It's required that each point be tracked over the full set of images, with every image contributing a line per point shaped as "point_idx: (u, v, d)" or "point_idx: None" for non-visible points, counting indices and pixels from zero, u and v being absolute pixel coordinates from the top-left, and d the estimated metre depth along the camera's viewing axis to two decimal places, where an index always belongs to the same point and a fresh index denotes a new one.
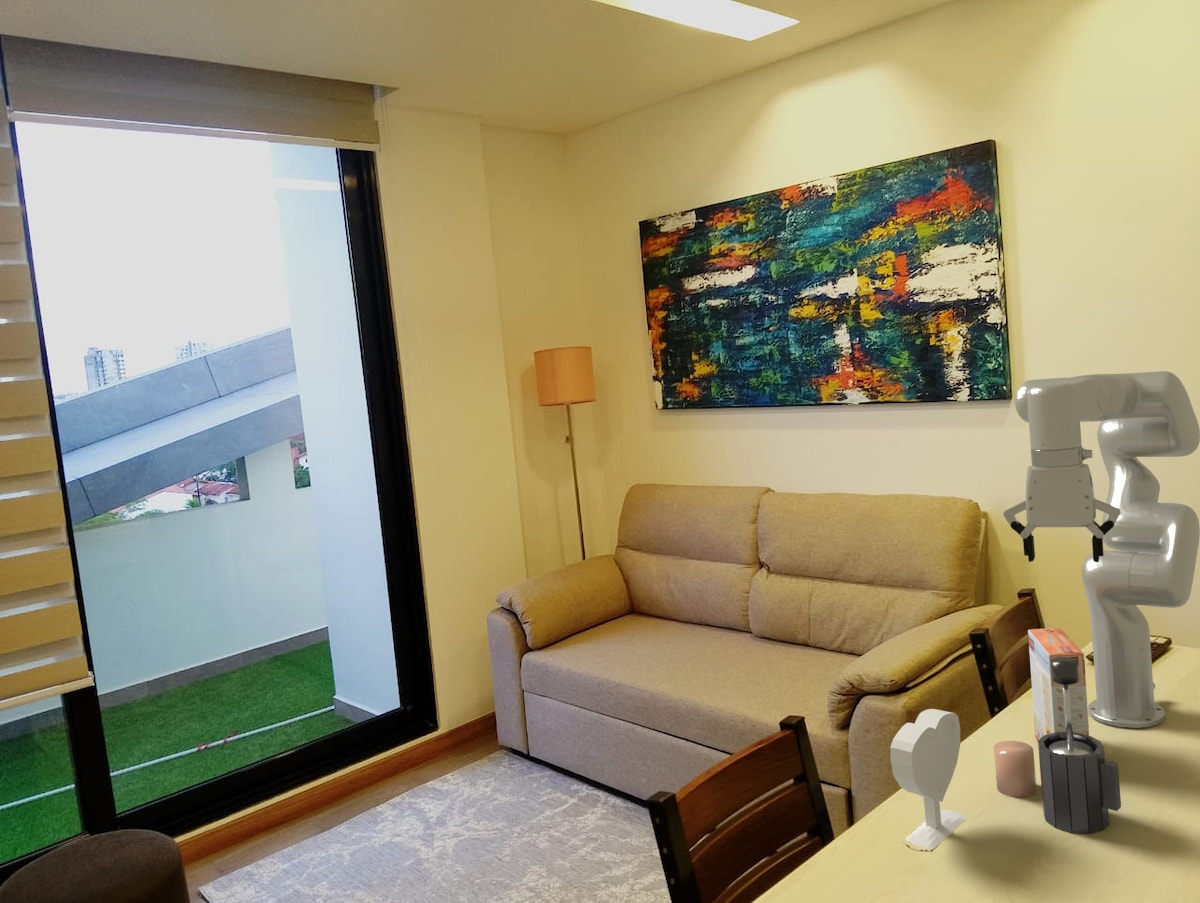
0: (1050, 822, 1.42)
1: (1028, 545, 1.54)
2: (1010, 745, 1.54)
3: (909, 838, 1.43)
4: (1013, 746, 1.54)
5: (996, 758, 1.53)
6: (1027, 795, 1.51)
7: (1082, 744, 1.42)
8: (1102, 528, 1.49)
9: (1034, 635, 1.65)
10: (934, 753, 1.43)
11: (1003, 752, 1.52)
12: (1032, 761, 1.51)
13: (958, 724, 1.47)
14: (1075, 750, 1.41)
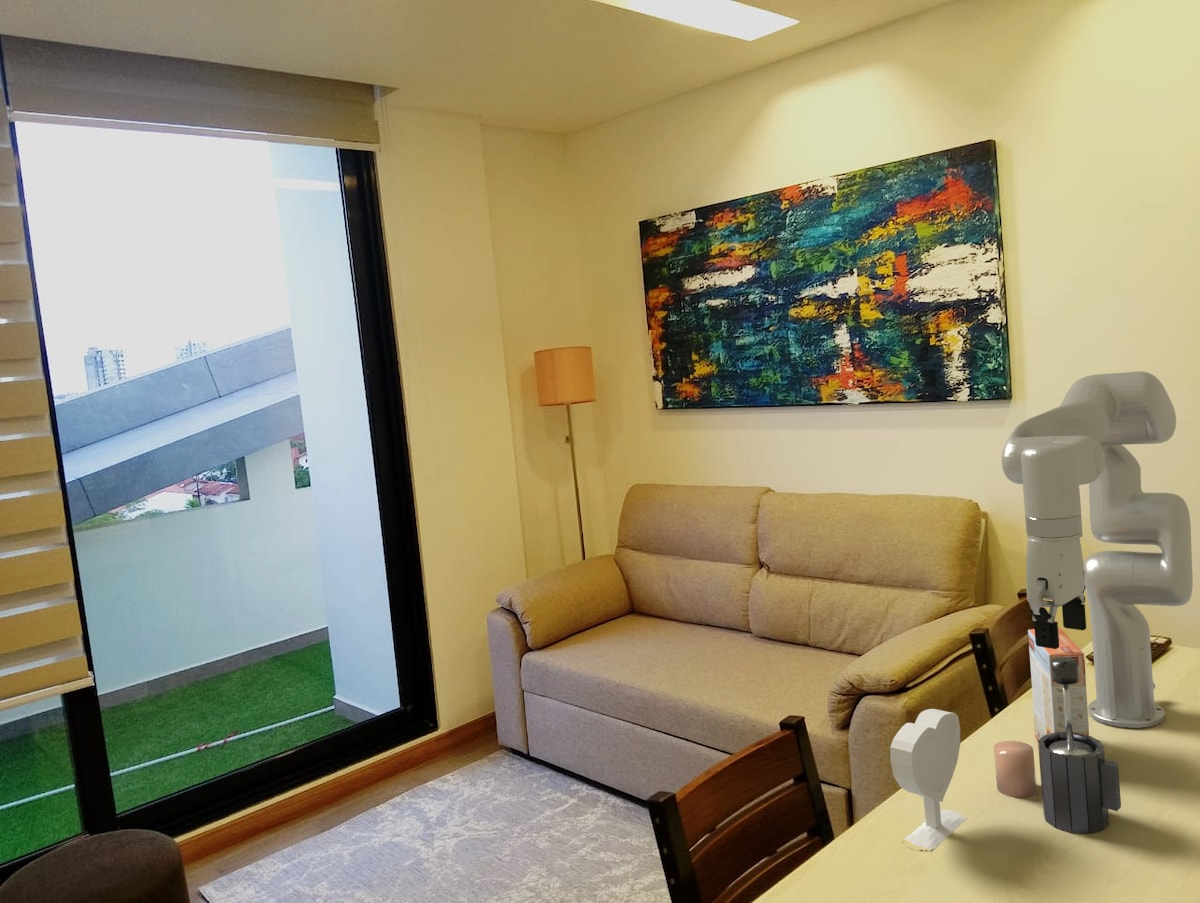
0: (1050, 822, 1.42)
1: (1057, 630, 1.35)
2: (1010, 745, 1.54)
3: (909, 838, 1.43)
4: (1013, 746, 1.54)
5: (996, 758, 1.53)
6: (1027, 795, 1.51)
7: (1082, 744, 1.42)
8: None
9: (1034, 635, 1.65)
10: (934, 753, 1.43)
11: (1003, 752, 1.52)
12: (1032, 761, 1.51)
13: (958, 724, 1.47)
14: (1075, 750, 1.41)
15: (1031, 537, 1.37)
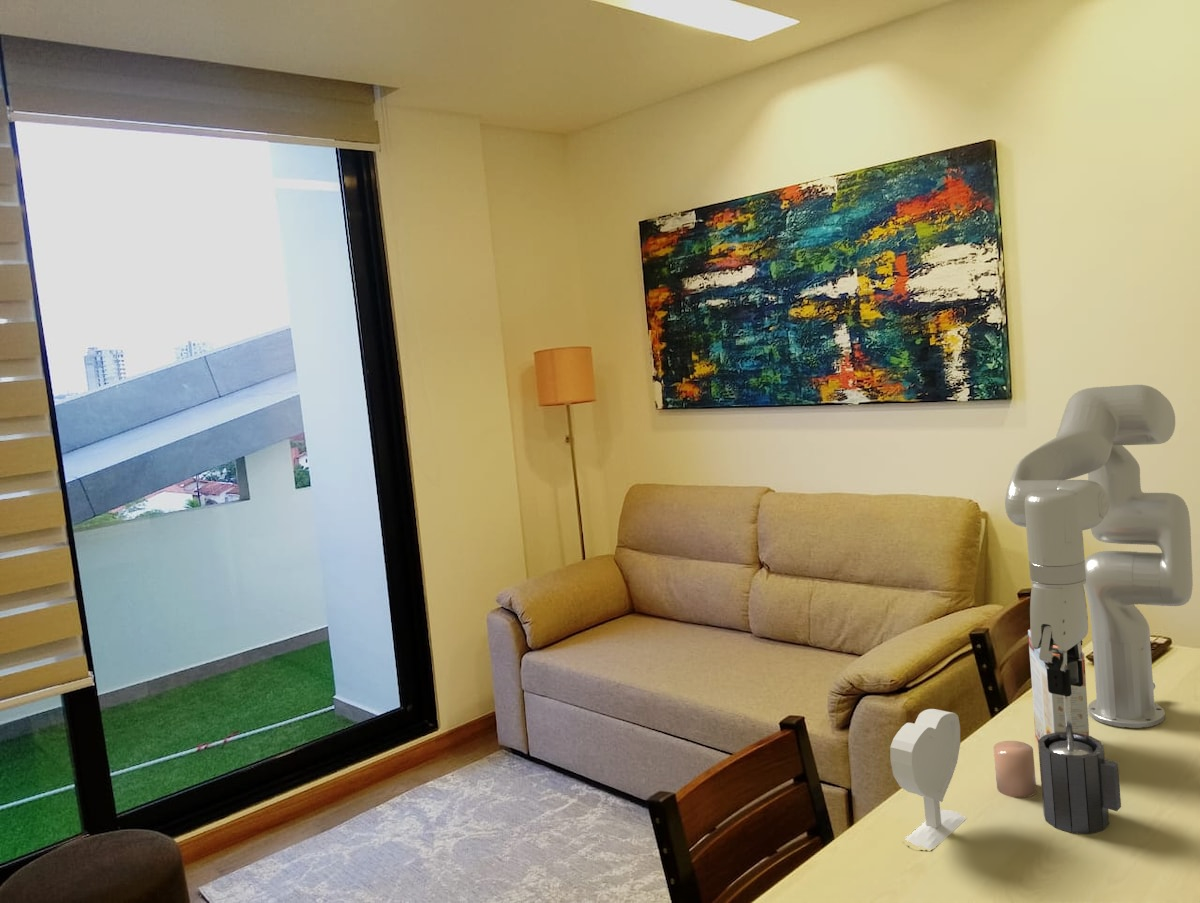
0: (1050, 822, 1.42)
1: (1069, 678, 1.38)
2: (1010, 745, 1.54)
3: (909, 838, 1.43)
4: (1013, 746, 1.54)
5: (996, 758, 1.53)
6: (1027, 795, 1.51)
7: (1082, 744, 1.42)
8: None
9: None
10: (934, 753, 1.43)
11: (1003, 751, 1.52)
12: (1032, 761, 1.51)
13: (958, 724, 1.47)
14: (1075, 750, 1.41)
15: (1035, 583, 1.38)
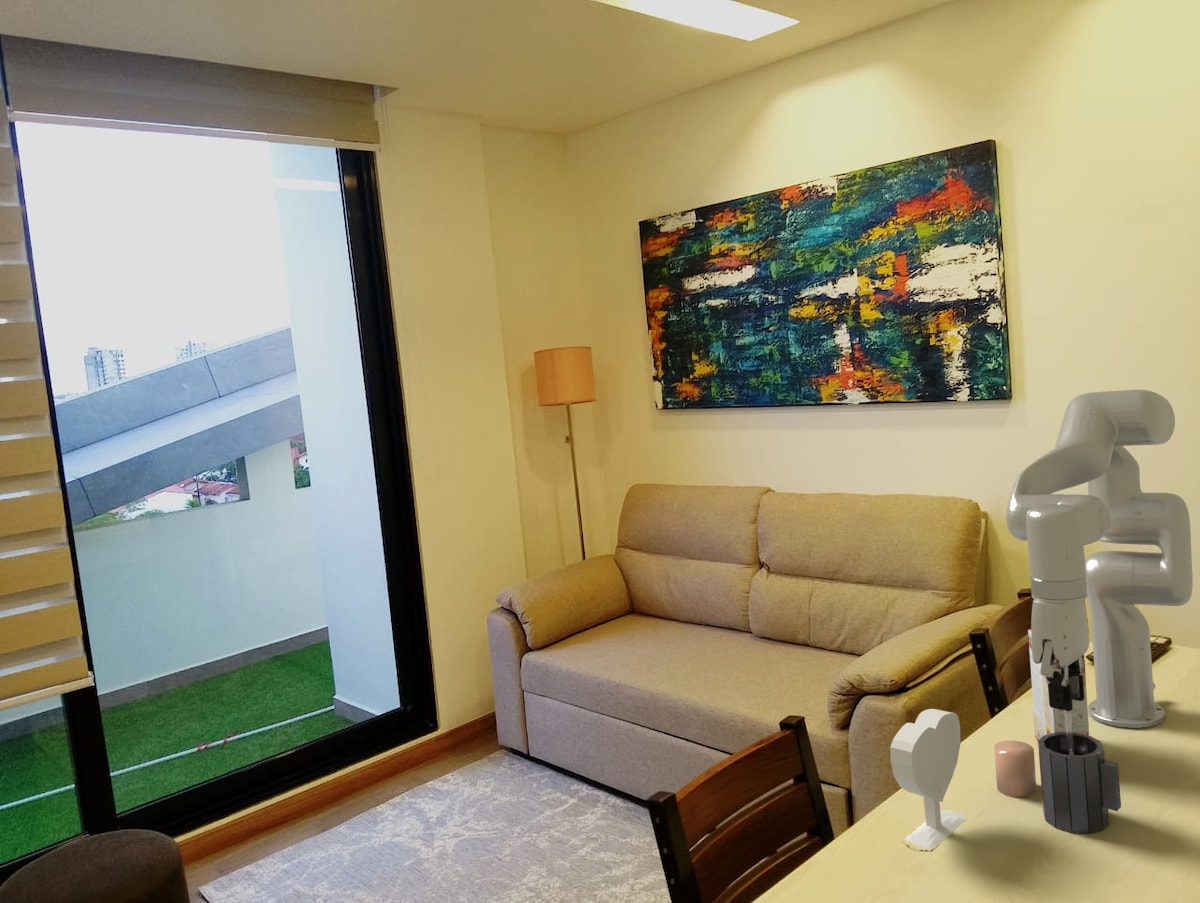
0: (1050, 822, 1.42)
1: (1070, 693, 1.38)
2: (1010, 745, 1.54)
3: (909, 838, 1.43)
4: (1014, 746, 1.54)
5: (996, 758, 1.53)
6: (1027, 795, 1.51)
7: None
8: None
9: None
10: (934, 753, 1.43)
11: (1004, 751, 1.52)
12: (1032, 761, 1.51)
13: (958, 724, 1.47)
14: None
15: (1036, 598, 1.38)
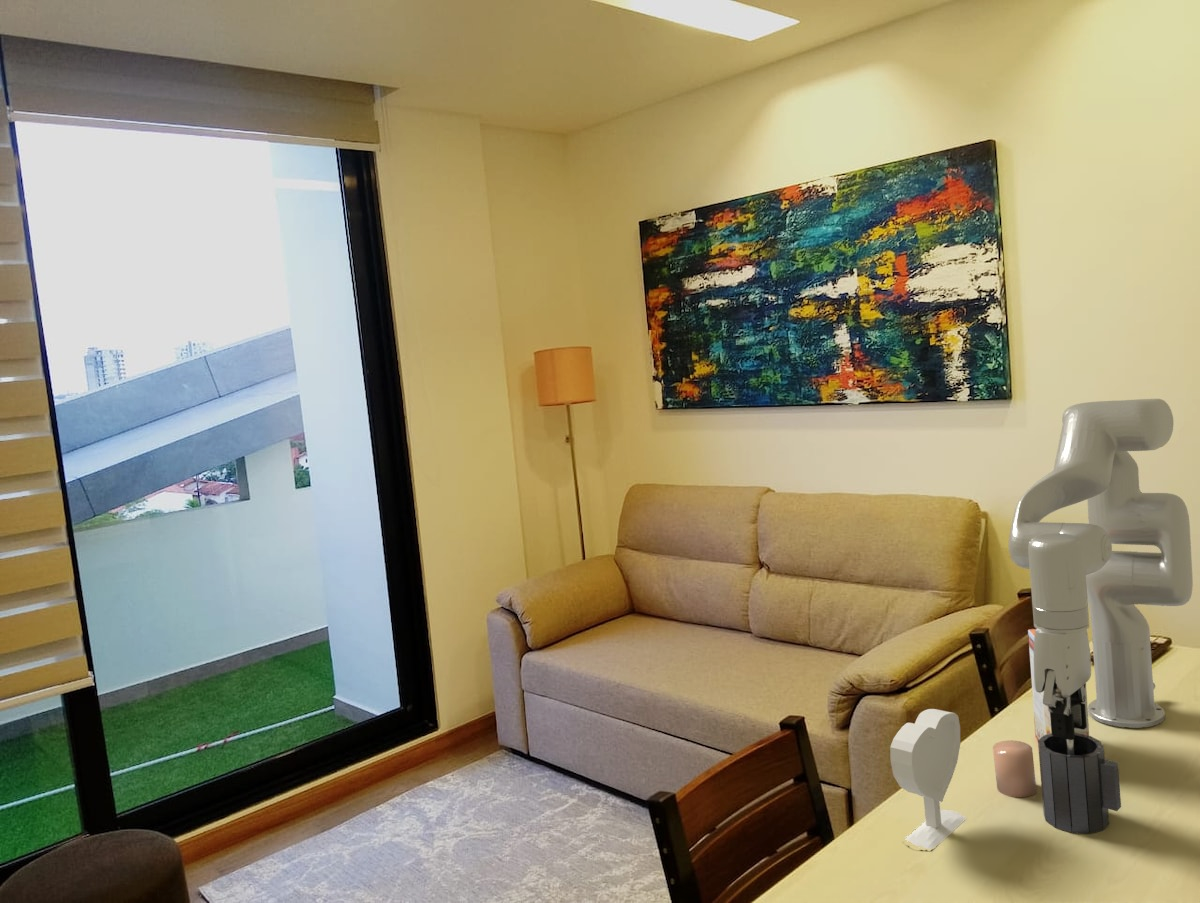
0: (1050, 822, 1.42)
1: (1072, 722, 1.38)
2: (1009, 745, 1.54)
3: (909, 838, 1.43)
4: (1012, 746, 1.54)
5: (995, 758, 1.53)
6: (1027, 794, 1.51)
7: None
8: None
9: (1034, 635, 1.65)
10: (934, 753, 1.43)
11: (1003, 752, 1.52)
12: (1031, 760, 1.51)
13: (958, 724, 1.47)
14: None
15: (1038, 627, 1.39)
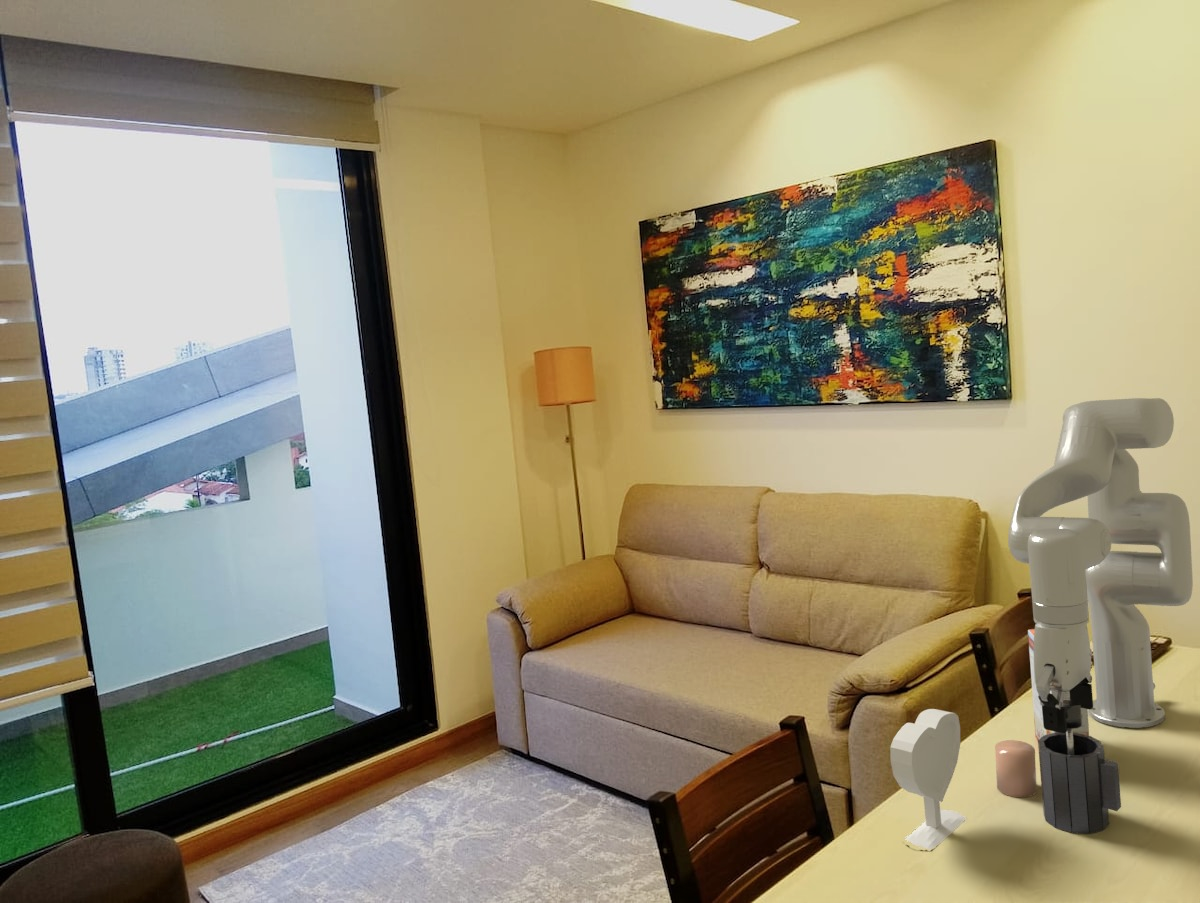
0: (1050, 822, 1.42)
1: (1064, 715, 1.37)
2: (1011, 745, 1.54)
3: (909, 838, 1.43)
4: (1014, 746, 1.53)
5: (998, 758, 1.53)
6: (1028, 795, 1.51)
7: None
8: None
9: None
10: (934, 753, 1.43)
11: (1006, 751, 1.52)
12: (1034, 761, 1.51)
13: (958, 724, 1.47)
14: None
15: (1038, 622, 1.39)
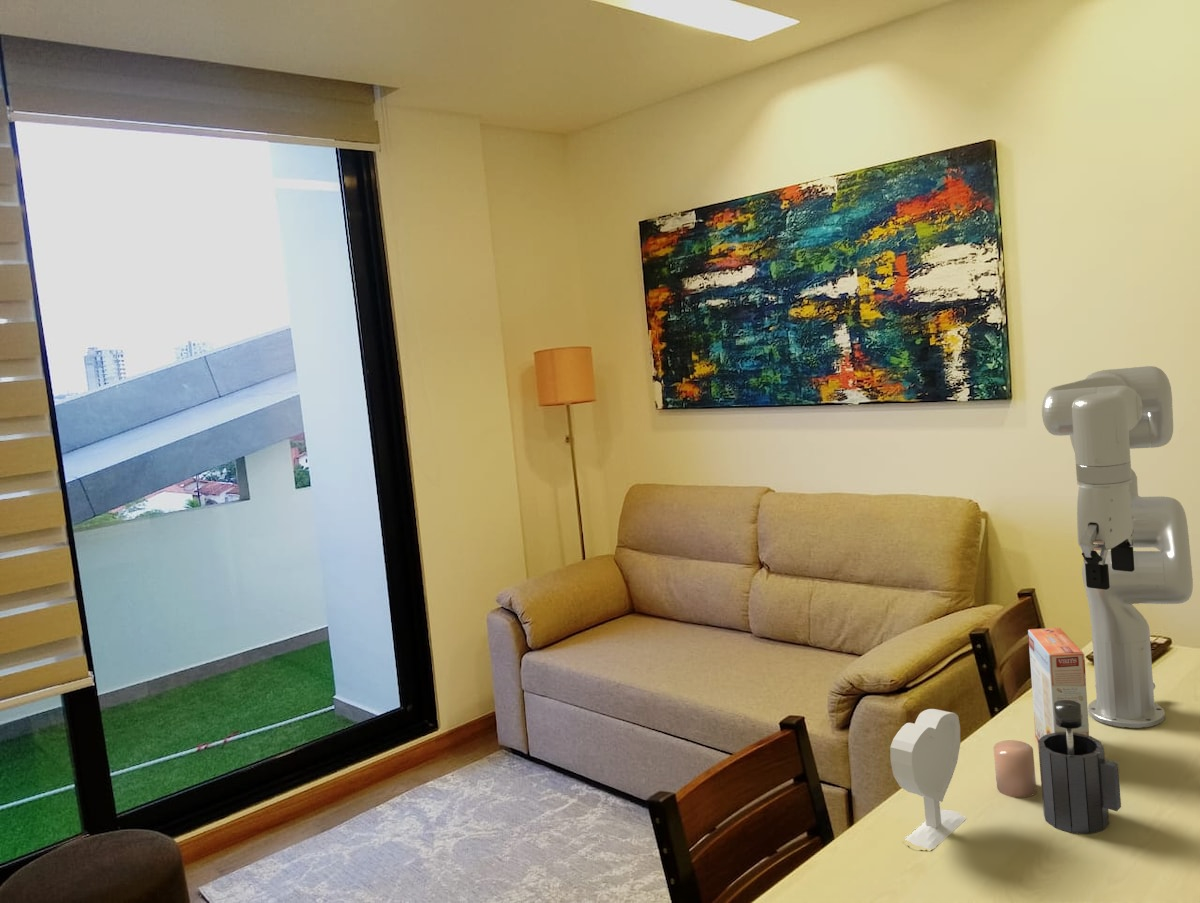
0: (1050, 822, 1.42)
1: (1107, 571, 1.41)
2: (1009, 745, 1.54)
3: (909, 838, 1.43)
4: (1012, 746, 1.53)
5: (997, 759, 1.52)
6: (1029, 794, 1.51)
7: None
8: None
9: (1034, 635, 1.65)
10: (934, 753, 1.43)
11: (1005, 753, 1.52)
12: (1033, 760, 1.51)
13: (958, 724, 1.47)
14: None
15: (1082, 484, 1.43)
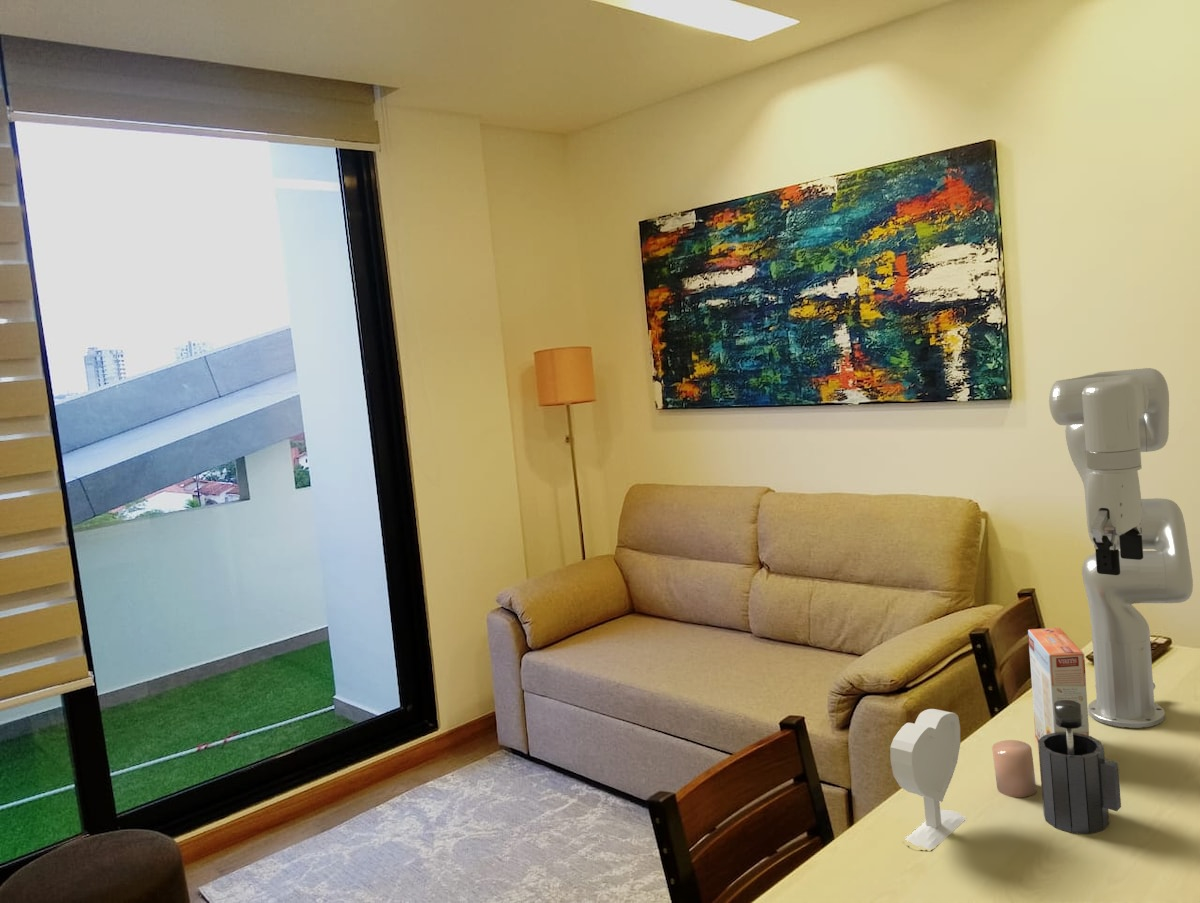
0: (1050, 822, 1.42)
1: (1118, 557, 1.42)
2: (1007, 745, 1.54)
3: (909, 838, 1.43)
4: (1010, 746, 1.54)
5: (997, 760, 1.52)
6: (1030, 793, 1.51)
7: None
8: None
9: (1034, 635, 1.65)
10: (934, 753, 1.43)
11: (1004, 753, 1.52)
12: (1032, 759, 1.51)
13: (958, 724, 1.47)
14: None
15: (1092, 470, 1.45)
